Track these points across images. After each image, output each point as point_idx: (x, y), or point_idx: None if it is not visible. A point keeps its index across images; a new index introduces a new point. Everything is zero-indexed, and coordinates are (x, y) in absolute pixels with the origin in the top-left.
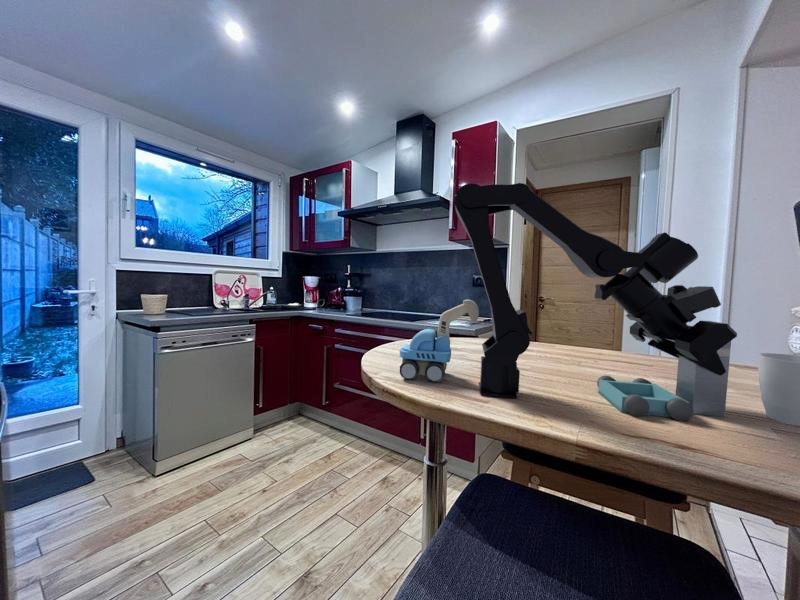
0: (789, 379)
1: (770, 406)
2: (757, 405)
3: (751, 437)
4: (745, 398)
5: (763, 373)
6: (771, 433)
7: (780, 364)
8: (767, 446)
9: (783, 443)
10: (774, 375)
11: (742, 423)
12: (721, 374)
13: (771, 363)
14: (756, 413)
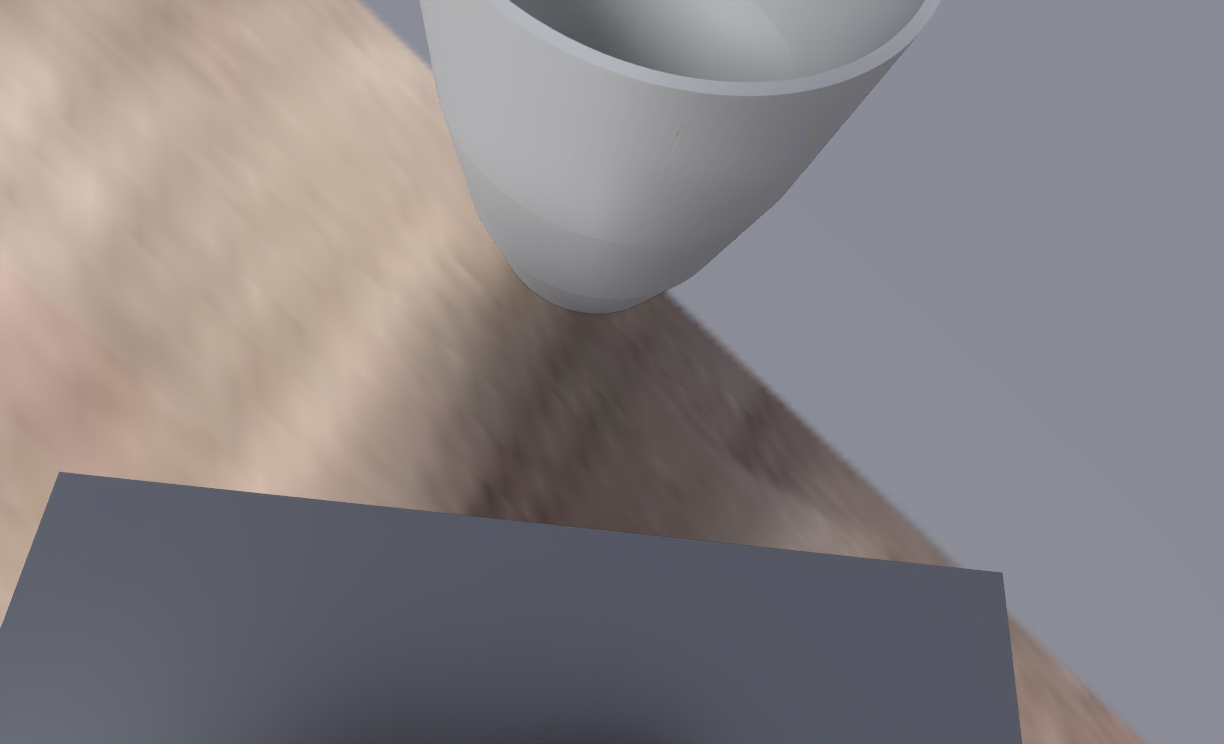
0: (788, 179)
1: (606, 301)
2: (352, 180)
3: None
4: (213, 127)
5: (605, 198)
6: (812, 525)
7: (794, 119)
8: None
9: None
10: (711, 202)
11: None
12: None
13: (725, 137)
14: (503, 321)
